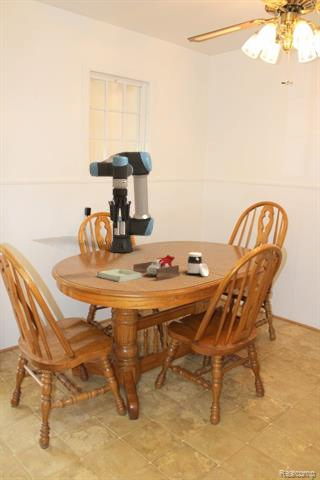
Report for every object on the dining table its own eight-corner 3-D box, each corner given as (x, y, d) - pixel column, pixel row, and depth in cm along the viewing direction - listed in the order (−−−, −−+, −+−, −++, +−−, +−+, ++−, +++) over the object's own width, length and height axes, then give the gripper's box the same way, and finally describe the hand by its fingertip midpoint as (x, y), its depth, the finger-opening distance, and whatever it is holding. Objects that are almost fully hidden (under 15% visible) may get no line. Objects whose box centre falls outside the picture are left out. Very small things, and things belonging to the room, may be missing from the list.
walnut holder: (133, 275, 219) (133, 264, 218) (155, 271, 231) (155, 261, 230) (157, 280, 207) (157, 268, 206) (179, 276, 219) (179, 265, 218)
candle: (145, 269, 222) (163, 247, 222) (161, 282, 222) (179, 260, 222) (145, 271, 213) (163, 248, 213) (162, 285, 213) (180, 262, 213)
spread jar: (188, 272, 230) (188, 251, 228) (208, 273, 228) (209, 252, 227) (186, 276, 218) (187, 254, 217) (208, 277, 216) (208, 255, 215)
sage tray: (97, 276, 214) (97, 271, 214) (119, 273, 225) (119, 268, 224) (119, 282, 202) (119, 276, 202) (141, 278, 213) (141, 273, 213)
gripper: (112, 187, 200) (112, 236, 203) (136, 188, 212) (136, 234, 214) (102, 187, 205) (102, 234, 208) (127, 188, 217) (126, 233, 219)
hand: (119, 234), depth 211 cm, fingers open, 3 cm apart
